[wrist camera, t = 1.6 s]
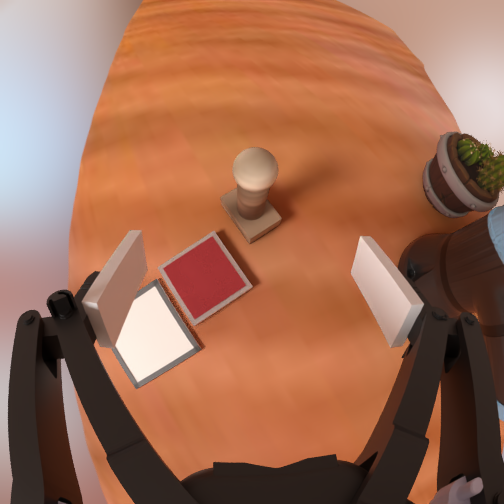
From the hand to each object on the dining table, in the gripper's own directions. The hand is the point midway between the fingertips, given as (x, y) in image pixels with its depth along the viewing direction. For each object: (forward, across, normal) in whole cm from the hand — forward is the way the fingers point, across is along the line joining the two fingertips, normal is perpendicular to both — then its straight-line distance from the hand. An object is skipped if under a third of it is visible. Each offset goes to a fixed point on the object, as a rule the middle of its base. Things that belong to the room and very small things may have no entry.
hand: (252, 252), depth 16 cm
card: (+11, -13, -19) cm, 25 cm away
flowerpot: (+27, +37, -2) cm, 46 cm away
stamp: (+22, +1, -7) cm, 23 cm away
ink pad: (+16, -5, -13) cm, 22 cm away
